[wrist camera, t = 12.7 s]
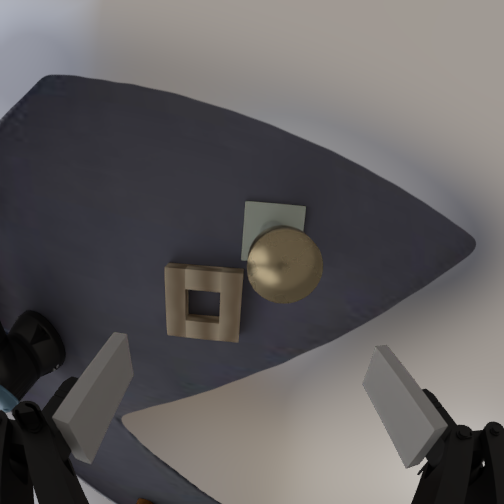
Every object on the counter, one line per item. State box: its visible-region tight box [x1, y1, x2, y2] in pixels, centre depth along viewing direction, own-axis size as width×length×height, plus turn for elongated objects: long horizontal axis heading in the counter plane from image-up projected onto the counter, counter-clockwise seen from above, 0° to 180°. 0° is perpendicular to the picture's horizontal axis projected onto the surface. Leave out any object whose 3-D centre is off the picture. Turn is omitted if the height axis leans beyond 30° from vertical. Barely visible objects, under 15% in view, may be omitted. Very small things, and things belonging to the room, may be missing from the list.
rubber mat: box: [241, 201, 306, 261], centre depth 42 cm, size 9×9×1 cm
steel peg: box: [247, 221, 323, 303], centre depth 34 cm, size 7×7×17 cm
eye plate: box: [165, 263, 244, 342], centre depth 44 cm, size 12×12×2 cm
